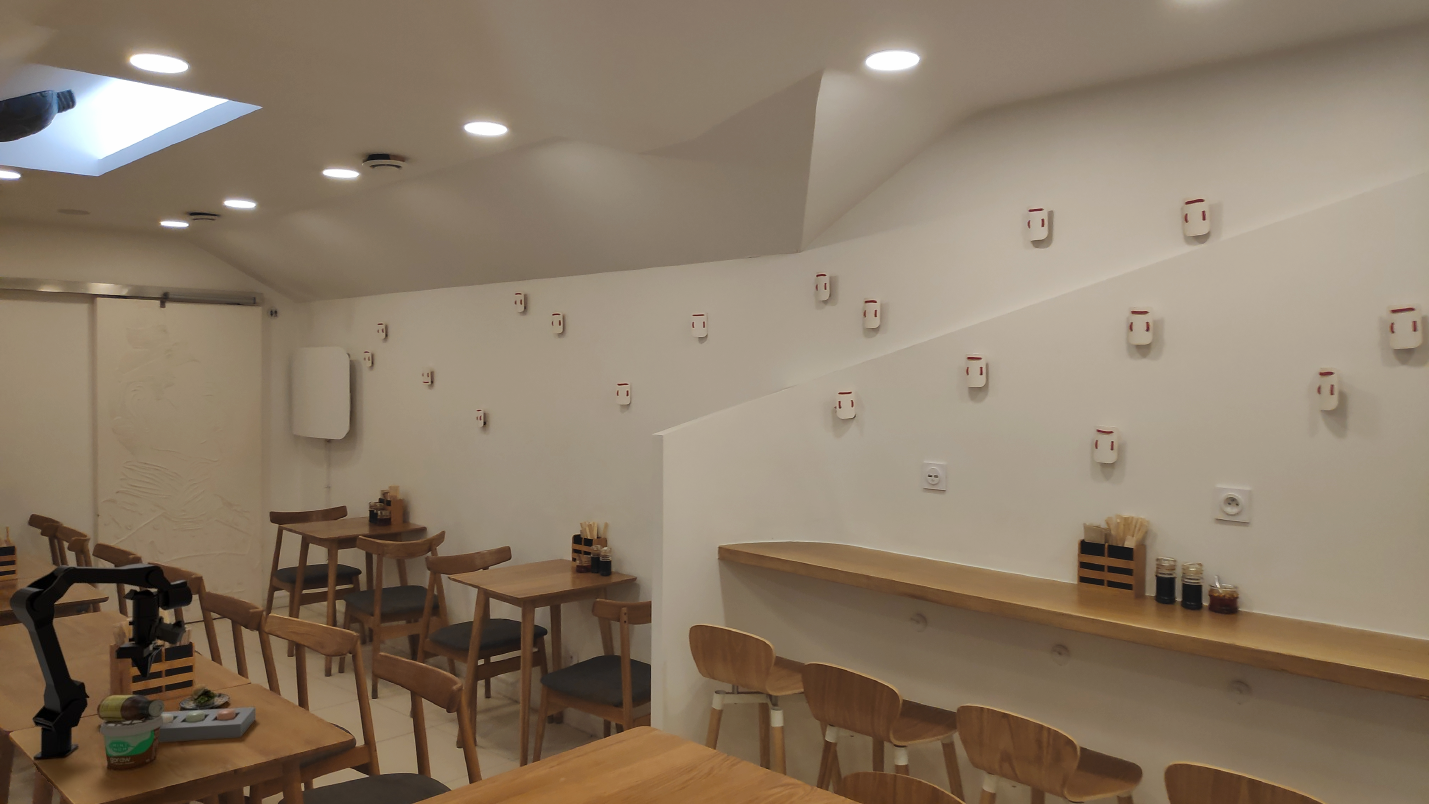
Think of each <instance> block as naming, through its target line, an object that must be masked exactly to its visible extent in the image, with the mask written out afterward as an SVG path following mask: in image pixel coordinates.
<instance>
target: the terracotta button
mask: <svg viewBox="0 0 1429 804" xmlns="http://www.w3.org/2000/svg"><path fill="white" fill-rule="evenodd" d="M224 709H225V710H221V711H219V712H217V720H234V719H235V710H234V709H228V708H224Z"/></svg>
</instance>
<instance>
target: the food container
mask: <svg viewBox="0 0 1429 804" xmlns="http://www.w3.org/2000/svg"><path fill="white" fill-rule="evenodd" d="M163 724H164V723H163V718H161V715H160V716H159V717H157V718H155V719H153V720H143V719H142V720H127V721H114V722H106V720H105V719H104V720H102V723H101V724H100V729H99V733H100V735H102V736H103V739H104V740H103V741H104V749H105V756H106V758H105V759H106V765H107V769H109V770H111V771H119V772H120V771H129V770H135V769H138V768H143V767H145V766H147V765H149V764H152V763H154V762H155V761H156V760H157V753H158V746H159V742H158V739H159V731H160V726H162V725H163Z"/></svg>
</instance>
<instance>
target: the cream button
mask: <svg viewBox="0 0 1429 804" xmlns="http://www.w3.org/2000/svg"><path fill="white" fill-rule="evenodd" d="M159 716H160V715H159ZM159 716H157V717H159ZM157 717H154V719H155V718H157ZM161 718H163V723H172V722H173V715H172V714H162V715H161Z"/></svg>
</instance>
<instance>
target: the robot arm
mask: <svg viewBox="0 0 1429 804" xmlns="http://www.w3.org/2000/svg"><path fill="white" fill-rule="evenodd" d="M164 573H165V572H164V570H163V569H162V567H161V566H160V565H154V564H148V563H134V564H133V563H132V564H127V565H124V566H117V567H110V566H109V567H106V566H103V567H102V566H70V565H65V564H64V565H59V566H57V567H56V568H54V569H53V570H52V571H50V572H49V573H48V574H45V575H43V576H42V577H39V578H38V579H35V580H34V581H32V582H30V583H29V584H28V585H26V586H24V587H21V588H19V589H18V590H16V591H15V592H14V593H13V594H12V596H11V597H10V599H9V606H10V609H11V610H12V612H13V614H14V615H15V617H16V618H17V620H18V621H19V622H20V623H22V625H23V626H24V627H25V628H26V630H27V632H28V635H29V637H30V641H31V643H32V646H33V647H32V648H33V649H34V652H35V656H36V658H37V662H38V664H39V668H40V670H41V673H42V676H43V680H44V682H45V687H44V691H43V702H44V703H43V704H44V705H42V707H40V709H39V710H38V711H37V712H36V714H35V715H33V716H32V719H31V720H32V722H33V724H34V726H35V727H38V728H39V727H40V751H38V753H36V754H35V755H34V756H33V759H34V760H36V759H37V760H38V759H40V760H41V759H53V758H56V759H57V758H64V757H67V756H68V755H69V754H71V753H73V751H75V750H76V749H77V748H78V747H79V744H76V743H75V744H72V742H73V741H72V739H73V738H72V737H73V736H72V735H73V733H72V732H73V728H77V727H78V726H79V724H80V721H81V718H82V715H83V713H84V712H85V711H86V708H88V704H89V703H88V699H89V698H90V696H89V694H88V693H87V690H86V684H85V682H84V681H81V680H76V679H73V678H72V677H71V675H70V671H69V669H68V665H67V662H66V659H65V656H64V654H63V650H62V647H61V644H60V641H59V637H58V635H57V632H56V629H55V626H54V619H55V615H56V605H55V604H56V603H57V602H59V600H61V599H62V598H63V597H64V596H65V595H66V593H67V592H68V590H69V589H70V588H71V587H72V586H74V584H104V585H105V584H111V585H112V584H114V585H117V584H119V585H121V584H122V585H126V586H132V587H138V588H143V589H141V590H137V589H135V588H134V589H133V588H130V589H129V591H128V592H127V593H125V594H124V595H123V596H122V599H123V600H128V601H131V603H132V605H131V607H132V610H131V613H132V614H131V616H132V617H131V619H130V620H129V621H128V626H131V636H130V637H128V642H125V643H124V644H122V645H120V646H119V647H118V648H117V649H116V650H115V651H114V653H115V654H114V655H115V656H114V658H115V659H116V660H127V659H130V660H131V661H132V663H133V664H134V665H135V667H136V669H137V671H138V672H139V674H140V675H141V677H142V678H148V677H149V676H150V673H151V669H152V666H153V662H154V659H155V657H156V654H157V653H158V652H159V651H160V650H161V649H162V648H163V647H164V646H165V644H159V642H157V641H162V642H166V643H168V644H169V645H173V646H175V645H177V644H178V643H180V642H181V641H182V639H183V637H184V636H185V635H184V634H186V633H187V627H186V625H185V620H181V619H177V620H176V621H174V622H173V623H172V622H169V623H168V622H164V621H165V620H164V619H165V617H163V615H160V609H161V610H162V611H169V610H174V609H175V610H176V609H180V608H184V607H189V606H190V605H191V604H192V602H193V598H194V596H193V593H192V589H191V588H190V587H189V585H188V581H187V580H185V579H181V580H176V581H173V582H170V581H169V579H167V577H166V576H165V574H164ZM144 588H145V589H144ZM150 589H151V590H150ZM152 589H153V590H155V591H152Z"/></svg>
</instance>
